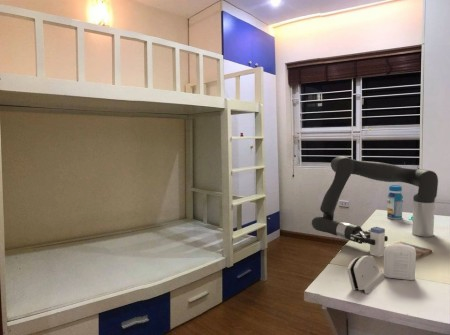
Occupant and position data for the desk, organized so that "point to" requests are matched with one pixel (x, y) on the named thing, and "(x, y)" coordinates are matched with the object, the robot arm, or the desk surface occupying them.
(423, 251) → the pad
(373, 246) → the cartridge
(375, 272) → the white black curved block
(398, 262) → the photo printer
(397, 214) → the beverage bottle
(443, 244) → the desk surface
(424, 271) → the desk surface
